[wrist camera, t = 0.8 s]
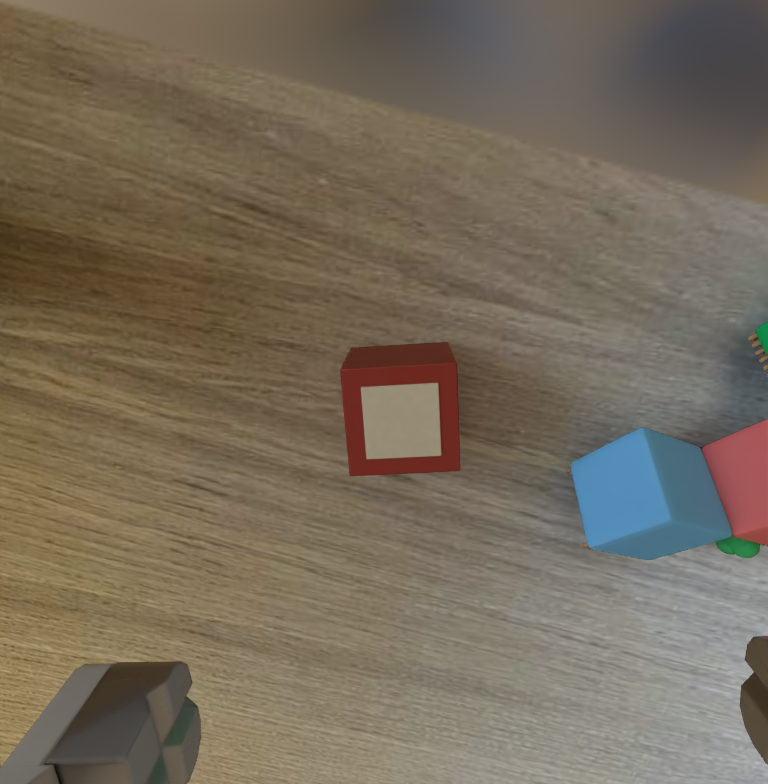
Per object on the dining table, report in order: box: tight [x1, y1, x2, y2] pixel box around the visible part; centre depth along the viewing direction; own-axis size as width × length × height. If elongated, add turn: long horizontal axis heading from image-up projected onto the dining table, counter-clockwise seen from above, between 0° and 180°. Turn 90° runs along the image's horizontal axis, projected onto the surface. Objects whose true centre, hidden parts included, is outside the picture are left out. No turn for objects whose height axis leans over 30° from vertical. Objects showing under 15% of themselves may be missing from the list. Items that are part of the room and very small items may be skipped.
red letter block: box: [340, 342, 460, 476], centre depth 23 cm, size 4×4×5 cm
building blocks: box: [566, 322, 768, 560], centre depth 22 cm, size 8×8×12 cm
